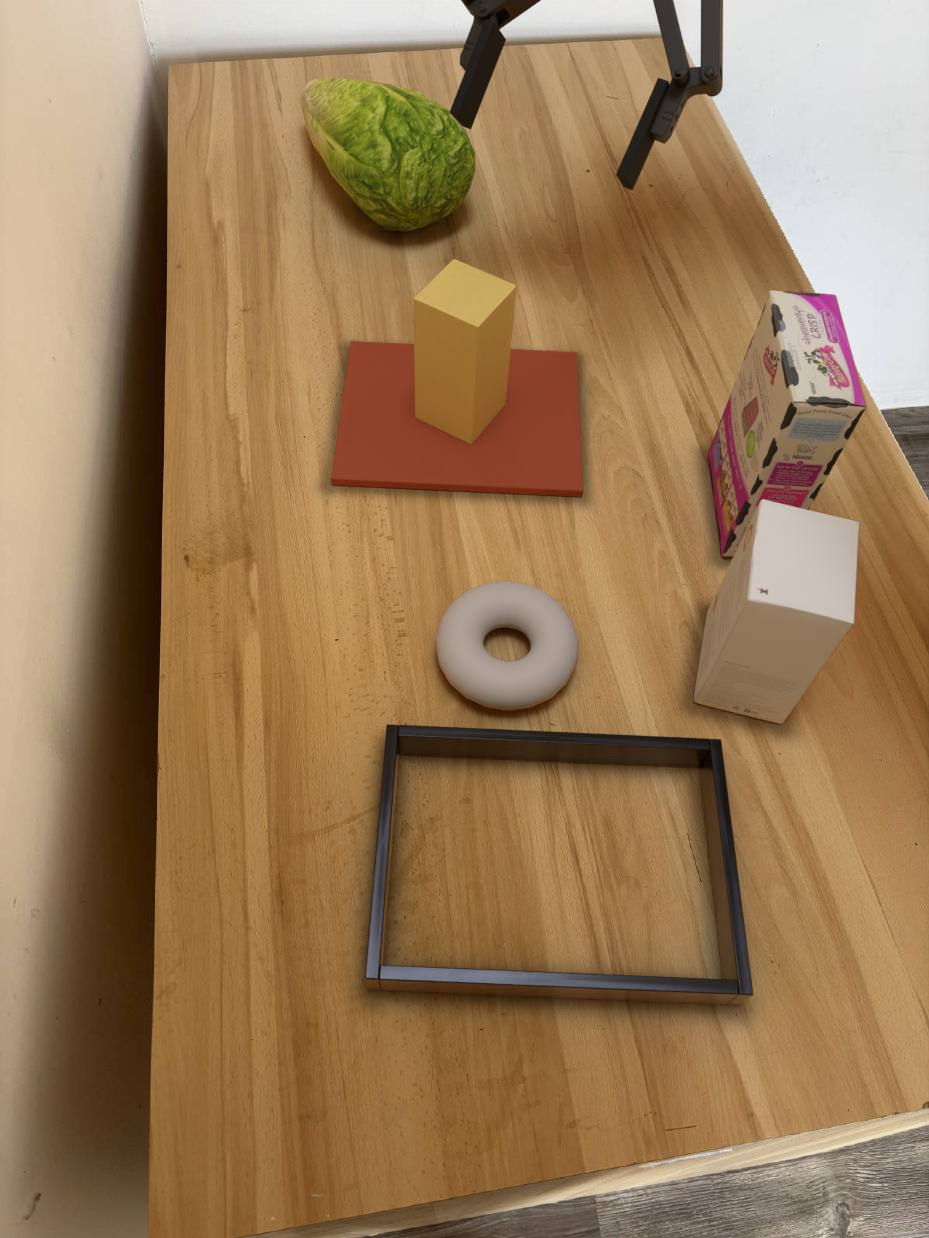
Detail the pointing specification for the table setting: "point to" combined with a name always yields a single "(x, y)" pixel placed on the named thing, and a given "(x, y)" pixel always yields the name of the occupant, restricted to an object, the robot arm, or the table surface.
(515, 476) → the mat
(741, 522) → the candy bar box
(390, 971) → the frame
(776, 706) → the small box
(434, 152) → the lettuce
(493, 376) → the carton
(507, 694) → the donut
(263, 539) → the table surface
